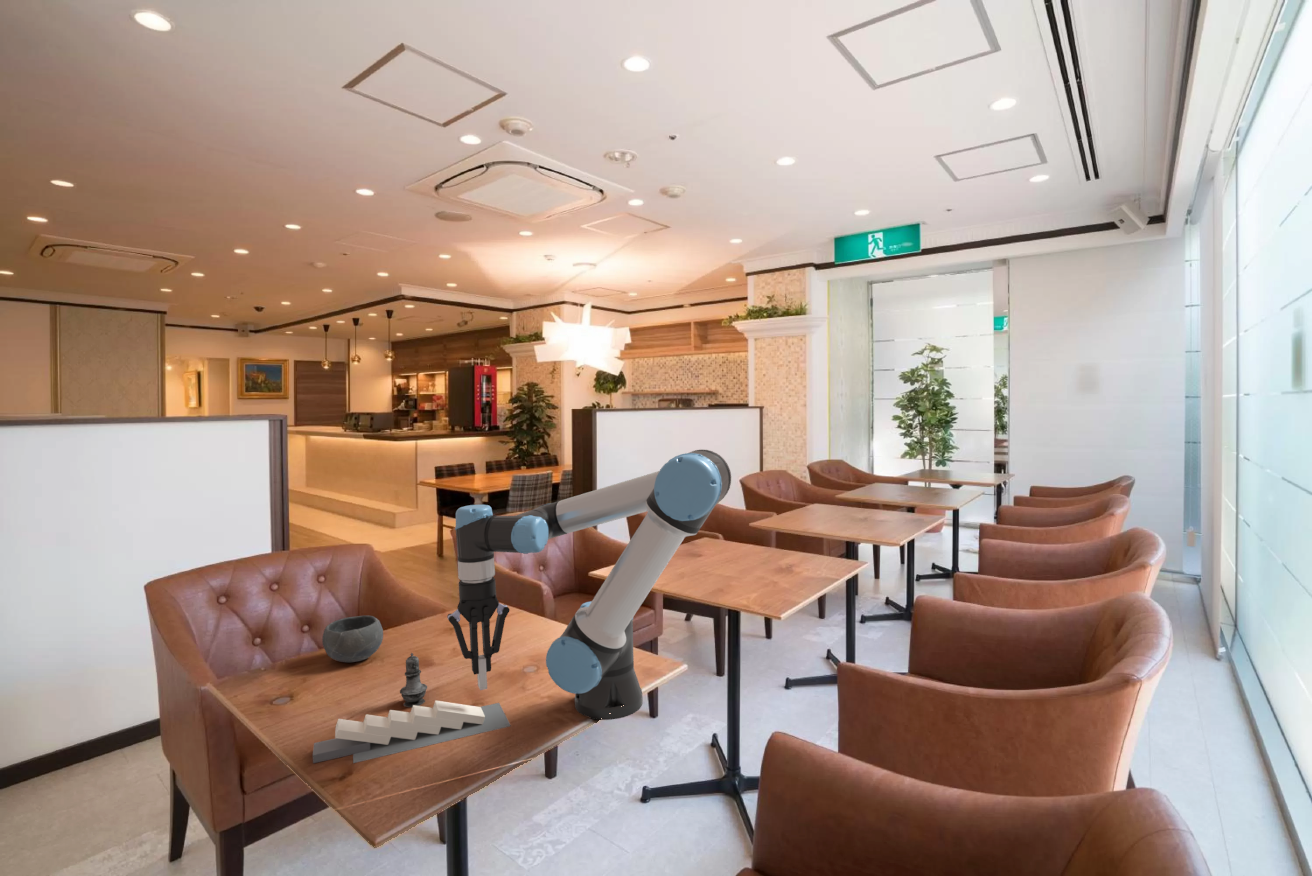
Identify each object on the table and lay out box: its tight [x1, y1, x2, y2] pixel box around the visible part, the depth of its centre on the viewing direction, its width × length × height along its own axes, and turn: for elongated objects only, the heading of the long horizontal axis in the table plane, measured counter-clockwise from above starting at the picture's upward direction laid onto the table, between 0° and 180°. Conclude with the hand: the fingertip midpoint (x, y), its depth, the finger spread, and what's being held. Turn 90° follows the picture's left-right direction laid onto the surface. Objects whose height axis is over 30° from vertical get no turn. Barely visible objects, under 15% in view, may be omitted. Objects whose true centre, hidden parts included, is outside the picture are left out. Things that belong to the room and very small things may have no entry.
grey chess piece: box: [399, 652, 428, 708], centre depth 148 cm, size 6×6×12 cm
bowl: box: [321, 615, 384, 664], centre depth 176 cm, size 15×15×10 cm
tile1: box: [432, 699, 485, 724], centre depth 138 cm, size 2×5×10 cm
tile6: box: [312, 737, 370, 764], centre depth 129 cm, size 2×5×10 cm
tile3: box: [386, 709, 441, 735], centre depth 134 cm, size 2×5×10 cm
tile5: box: [334, 718, 391, 745], centre depth 130 cm, size 2×5×10 cm
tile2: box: [409, 705, 463, 729], centre depth 136 cm, size 2×5×10 cm
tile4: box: [362, 714, 418, 740], centre depth 132 cm, size 2×5×10 cm
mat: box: [352, 702, 512, 764], centre depth 136 cm, size 30×12×1 cm, turn 115°
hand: (482, 687), depth 140 cm, fingers closed
